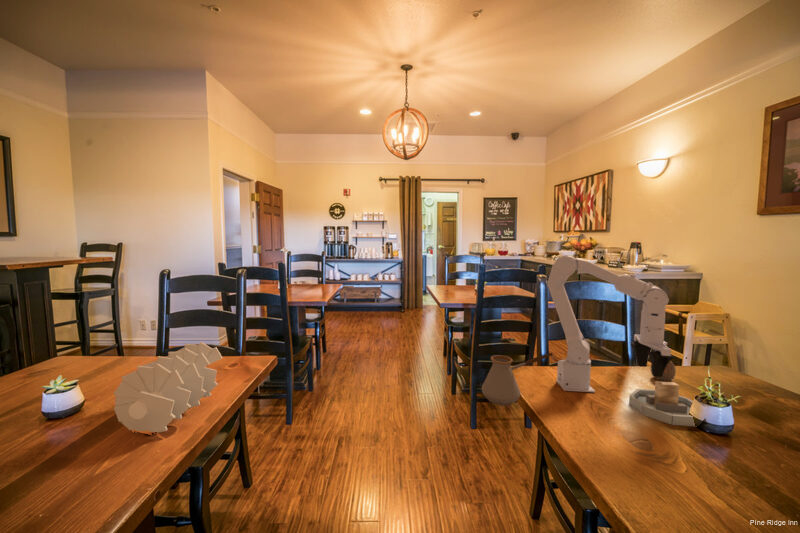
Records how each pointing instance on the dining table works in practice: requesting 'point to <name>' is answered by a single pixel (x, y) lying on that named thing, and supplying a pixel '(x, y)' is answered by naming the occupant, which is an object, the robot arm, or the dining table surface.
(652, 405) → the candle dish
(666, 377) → the vase
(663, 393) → the pine wood chunk
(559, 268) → the robot arm
